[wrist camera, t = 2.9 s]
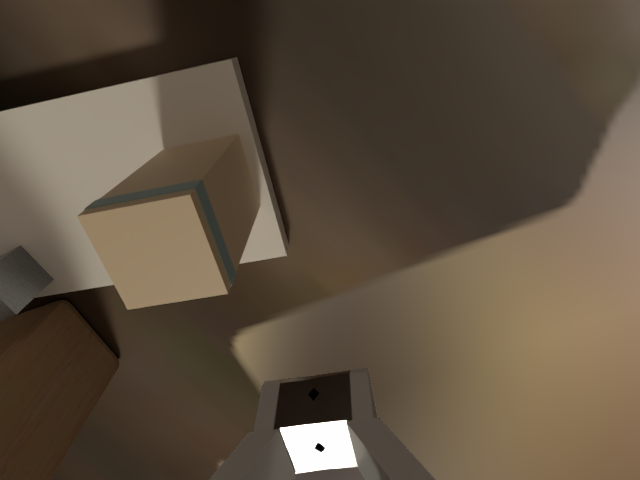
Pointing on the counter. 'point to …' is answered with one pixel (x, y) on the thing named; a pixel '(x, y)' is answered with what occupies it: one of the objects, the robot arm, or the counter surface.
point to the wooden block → (47, 387)
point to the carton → (176, 223)
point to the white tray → (117, 162)
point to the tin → (19, 281)
